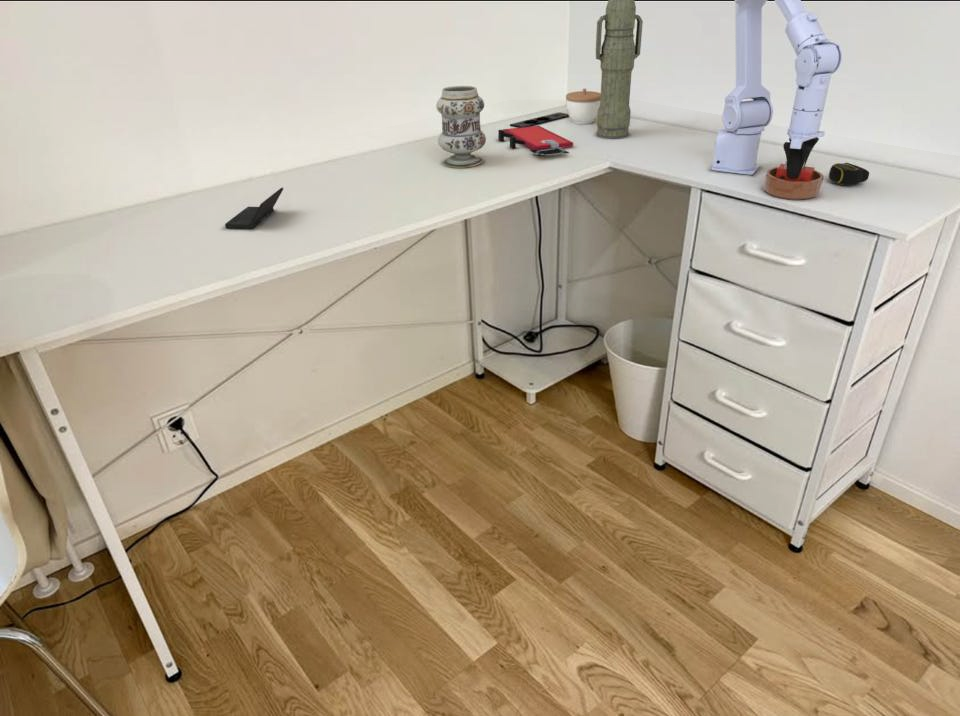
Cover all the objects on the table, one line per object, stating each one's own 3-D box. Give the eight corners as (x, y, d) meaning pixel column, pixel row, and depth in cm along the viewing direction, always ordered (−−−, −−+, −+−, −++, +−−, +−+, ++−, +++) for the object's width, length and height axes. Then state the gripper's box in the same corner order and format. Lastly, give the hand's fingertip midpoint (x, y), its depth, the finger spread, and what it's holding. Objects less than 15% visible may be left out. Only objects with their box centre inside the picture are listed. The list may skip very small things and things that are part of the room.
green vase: (639, 136, 194) (651, -5, 175) (599, 140, 191) (607, -3, 173) (625, 129, 201) (635, -8, 183) (587, 133, 199) (593, -5, 180)
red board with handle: (532, 160, 176) (586, 154, 180) (533, 149, 174) (586, 143, 178) (490, 135, 200) (538, 130, 204) (490, 125, 199) (538, 120, 203)
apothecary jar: (478, 153, 184) (475, 81, 175) (492, 166, 174) (491, 90, 165) (434, 159, 181) (429, 86, 172) (446, 171, 171) (441, 95, 162)
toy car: (774, 181, 149) (778, 161, 147) (778, 176, 152) (782, 157, 150) (808, 185, 146) (813, 165, 144) (811, 180, 149) (816, 160, 147)
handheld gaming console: (237, 203, 151) (256, 168, 146) (267, 221, 153) (287, 187, 148) (221, 230, 142) (241, 193, 137) (254, 248, 145) (275, 213, 139)
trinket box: (564, 125, 207) (565, 92, 202) (566, 117, 216) (567, 85, 211) (600, 126, 205) (602, 92, 200) (601, 117, 214) (603, 85, 209)
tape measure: (868, 185, 152) (872, 168, 150) (842, 189, 151) (846, 172, 149) (845, 176, 158) (849, 160, 156) (820, 180, 156) (824, 164, 154)
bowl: (758, 196, 149) (761, 177, 147) (769, 181, 157) (772, 163, 155) (814, 203, 144) (818, 184, 142) (823, 188, 152) (827, 170, 150)
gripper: (823, 118, 134) (808, 187, 141) (835, 103, 145) (820, 168, 152) (785, 114, 137) (772, 182, 145) (798, 100, 148) (786, 164, 155)
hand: (794, 174), depth 148 cm, fingers closed on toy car, 4 cm apart
